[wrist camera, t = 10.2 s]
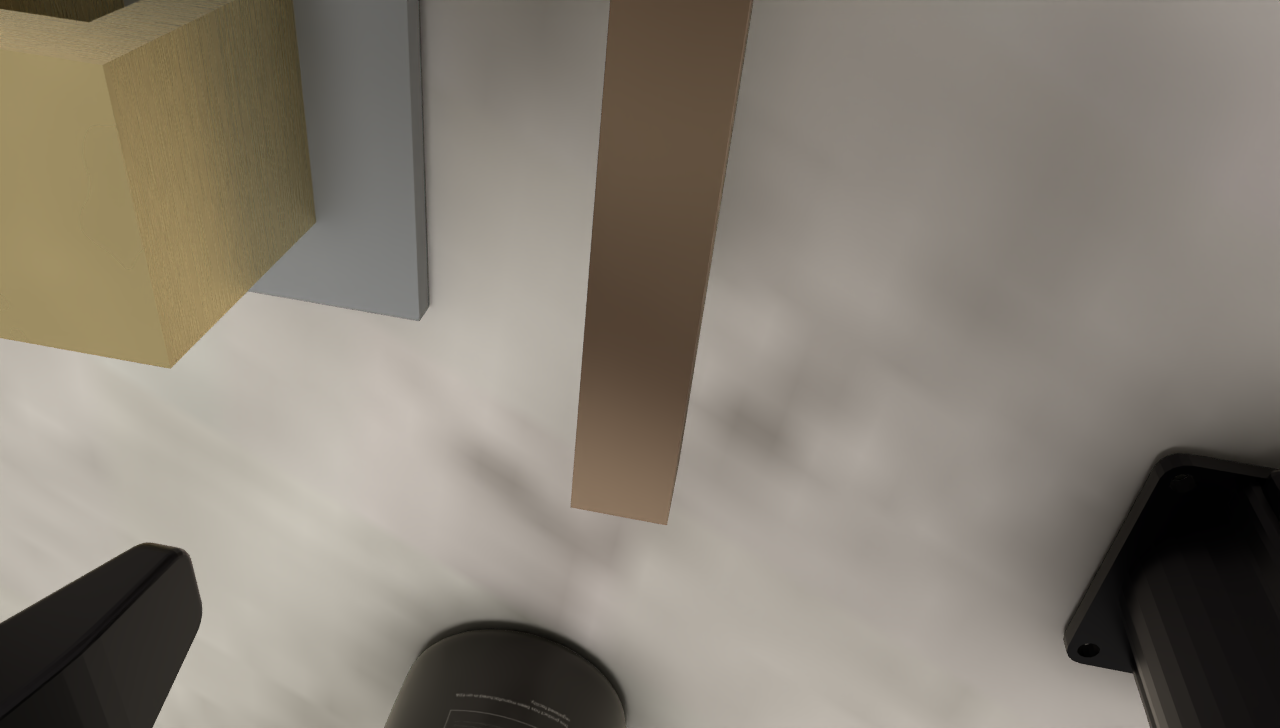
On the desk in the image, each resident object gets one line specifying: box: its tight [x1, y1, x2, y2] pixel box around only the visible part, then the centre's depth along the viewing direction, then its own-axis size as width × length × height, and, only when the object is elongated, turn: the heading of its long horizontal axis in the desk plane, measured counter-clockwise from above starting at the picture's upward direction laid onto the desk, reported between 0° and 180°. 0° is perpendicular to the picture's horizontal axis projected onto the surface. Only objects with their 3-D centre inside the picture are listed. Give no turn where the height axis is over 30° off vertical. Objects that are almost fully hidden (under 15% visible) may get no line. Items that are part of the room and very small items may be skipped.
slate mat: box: [123, 0, 429, 321], centre depth 19 cm, size 9×9×1 cm
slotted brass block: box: [0, 0, 316, 369], centre depth 17 cm, size 5×5×6 cm
